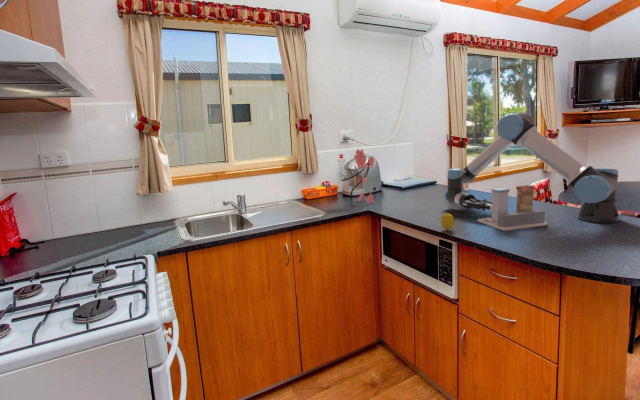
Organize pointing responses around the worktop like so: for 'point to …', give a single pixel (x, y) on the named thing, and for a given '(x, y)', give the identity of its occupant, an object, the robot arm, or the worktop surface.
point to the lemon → (447, 221)
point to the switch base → (517, 220)
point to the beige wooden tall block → (524, 198)
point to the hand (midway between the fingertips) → (496, 208)
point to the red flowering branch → (361, 162)
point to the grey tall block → (499, 203)
